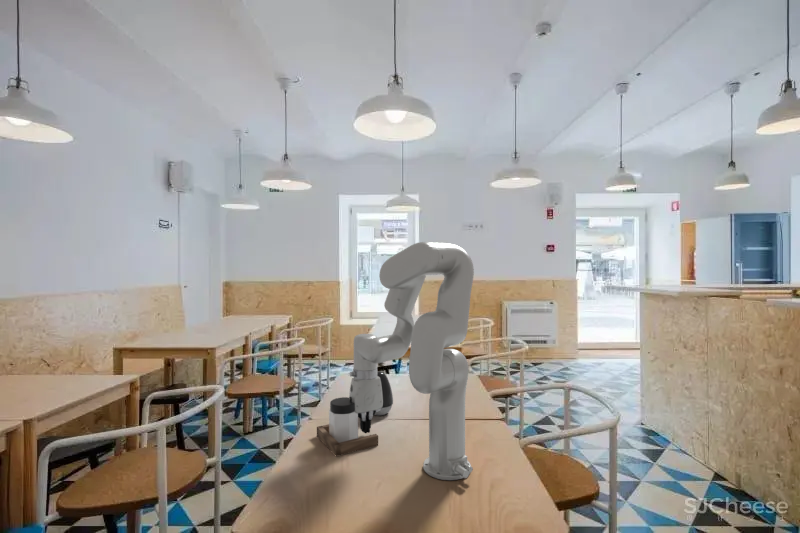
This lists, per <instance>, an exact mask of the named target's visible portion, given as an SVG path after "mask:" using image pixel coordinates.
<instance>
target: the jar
mask: <svg viewBox="0 0 800 533" xmlns="http://www.w3.org/2000/svg"><path fill="white" fill-rule="evenodd" d="M329 407H330V408H329V409H328V424H329V434H330V435H331V436H332V437H333V438H335V439H336V440H337V441H338V442H339V443H340V442H344V441H348V440H352V439H356V438H359V417H358V413H355V412H354V411H355V403H353V402H352V400H351V399H350V400H349V396H348V397H346V396H345V397H344V396H342V397H337V398H334V399H332V400H331V401H330V404H329Z"/></svg>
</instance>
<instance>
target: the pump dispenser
mask: <svg viewBox="0 0 800 533" xmlns="http://www.w3.org/2000/svg"><path fill="white" fill-rule="evenodd" d="M377 376H378V377H380V380H381V386H382V395H383V406H382V408H381V410H380V411H378V412H376V413H375V414H374V415H373V416H385V415H387V414H388V413H389V412H390V411H391V409H392V407H393V405H394V397H393V396H394V395H393V390H392V387H391V383H390V381H389V379H388V377H387V375H386V373H384V371H381V370H379V371H378V370H377Z"/></svg>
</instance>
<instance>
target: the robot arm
mask: <svg viewBox="0 0 800 533" xmlns="http://www.w3.org/2000/svg"><path fill="white" fill-rule="evenodd" d="M474 270H475V269H474V262H473V260H472V258H471V256H470V255H469V253H468V252H467V251H466V250H465V249H464V248H462V247H460V246H458V245H457V244H453V243H448V242H434V241H433V242H432V241H419V242H416V243H413V244H411V245H410V246H408V247H406V248H404V249H403V250H400V251H399V252H398V253H396V254H394V255H392V256H391V257H389V258H387V260H385V261H384V262H383V264H382V265H381V267H380V270H379V273H378V274H379V281H380V284H381V285H382V286H383V287H384V288H385V289H387V290H389V291H388V293H387V295H386V298H385V301H384V304H383V305H384V308H385V310H386V311H387V312H388V313H389V314H390V315H391V316H394V317H396V324H395V327H394V329H393V332H392V334H389V335H383V336H378V337H377V335H375V334H372V333H359V334H357V335H355V336H354V338H353V369H352V371H350V372H349V376H350V377H351V382H350V387H349V396H348V398H349V400H350V399H351V400H352V402H353V403H355V411H354V412H355V413H358V419H359V421H360V422H359V429H360V431H362V432H363V434H367V433H371V429H372V425H371V424H372V422H371V421H372V420H373V416H375V415H374V414H375V413H376V412H378V411H380V410H381V408H382V406H383V395H382V386H381V380H380V377H378V376H377V372H378V364H381V363H386V362H389V361H393V360H396V359H397V360H398V359H400V358H403V356H405V355H406V353H407V352H408V350H409V348H410V351H409V353H410V354H409V361H408V362H409V364H408V377H409V379H410V384H411V385H412V387H413V388H414V389H415V390H416V391H417V392H419V393H420V394H425V395H426V394H427V395H429V394H430V395H429V401H428V402H429V403H428V448H429V449H428V456H427V457H426V458H425V460H424V461H423V463H422V465H423V467H422V469H423V470H424V472H425V474H427V475H429V476H430V477H433V478H434V479H437V480H442V481H458V480H461V479H467V478H468V477H469V476H470V474H471V473H472V472H473V470H474V469H473V467H472V465H471V463H470V461H469V460H468V455H466V394H467V393H466V392H467V385H468V380H469V379H468V378H469V372H470V370H469V369H470V368H469V363H468V360H467V358H466V356H465V355H464V354H463V353H462V351H460V350H457V349H455V348H450V347H453V346H457V345H459V344H461V343H463V342H464V341H465V339H466V337H467V335H468V326H469V317H470V316H469V315H470V308H471V307H470V306H471V294H472V287H473V281H474V274H475V271H474ZM431 275H433V276H436V275H442V276H443V280H442V282H441V284H440V286H439V289H438V292H437V302H436V303H437V304H436V307H435V310H434V311H428V312H425V313H423V314H422V315H420V316H419V317H418V318H417V319H416V321H415V322H414V318H413V315H412V314H413V310H414V308H415V306H416V303H417V300H418V297H419V295H420V292H421V289H422V287H423V285H424V283H425V279H426V276H431Z"/></svg>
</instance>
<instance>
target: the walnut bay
mask: <svg viewBox="0 0 800 533" xmlns="http://www.w3.org/2000/svg"><path fill="white" fill-rule="evenodd" d="M316 437H317V438H318V439H319V440H320V441H321V443H323V445H324V446H325V447H326V448H327V449H328V448H329V449H330V450H331V451H332V452H333V453H334V454H335V455H336V456H335V455H334V454H333V453H332V452H331V451H330V450H329V449H328V450H329V451H330V452H331V453H332V454H333V455H334V456H335V457H338V456H343V455H347V454H351V453H355V452H359V451H362V450H366V449H371V448H374V447H378V446H379V435H378V434H377V433H374V434H370V435H365V436H361V437H358V438H356V439H352V440H348V441H344V442H340V443H339V442H338V441H337V440H336V439H335V438H333V437H332V436H331V435H330V434H329V423H328V424H324V425H319V426H316Z"/></svg>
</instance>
